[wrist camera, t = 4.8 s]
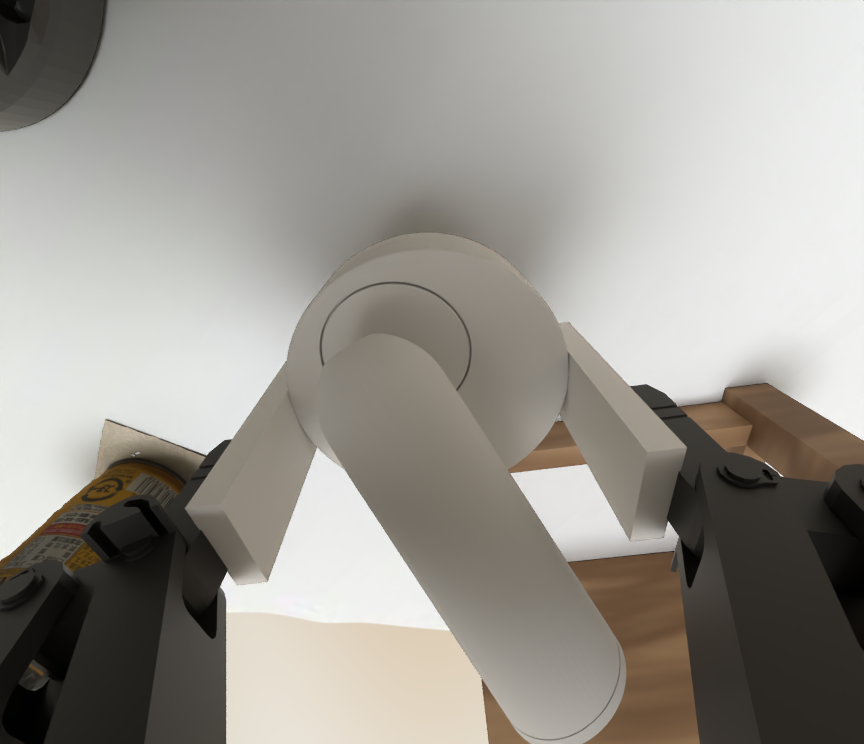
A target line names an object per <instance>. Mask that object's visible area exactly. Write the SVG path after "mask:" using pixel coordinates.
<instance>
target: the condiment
mask: <svg viewBox="0 0 864 744" xmlns="http://www.w3.org/2000/svg"><path fill="white" fill-rule="evenodd" d="M136 452H140V454H138V455H136V454H135V453H136ZM131 454H134V455H135V456H133V457H132V456H130V455H131ZM205 458H206V457H204V456H201V455H199V454H196V453H194V452H191V451H188V450H186V449H184V448H182V447H179V446H177V445H174V444H171V443H168V442H165V441H163V440H160V439H159V438H157V437H154V436H149V435H146V434H143V433H140V432H137V431H135V430H133V429H131V428H128V427H123V426H120V425H118V424H115V423H112V422H109V421H107V420H105V423H104V427H103V431H102V438H101V441H100V449H99V452H98V459H97V468H96V473H95V477H94V480H93V481H92V482H91V483H90V484H89V485H87V486H86V487H84V488H83V489H82V490H81V491H80V492H79V493H78V494H76V495H75V496H74V497H73V498H71V499H70V501H68V502H67V503H65V504H64V505H63V507H62V508H61V509H59V510H58V511H56V512H55V513H54V514H53V515H52V516H51V517H50V518H49V519H48V520H47V521H46V522H45V523H44V524H43V525H42V526H41V527H40V528H38V529H37V530H36V531H35V532H34V533H33V534H32V535H31V536H30V537H29V538H28V539H27V540H26V541H24V542H23V543H22V544H21V545H20V546H19V547H18V548H17V549H16V550H15V551H14V552H12V553H11V554H10V555H9V556H7V557H5V558H3V559H2V560H1V561H0V585H2V584H3V583H4V582H5V581H7V580H8V579H9V578H10V577H12V576H13V575H15V574H16V573H18V572H21V571H22V570H24V569H26V568H28V567H30V566H32V565H35V564H37V563H40V562H43V561H47V560H55V559H56V560H58V561H60V562H63V563H64V564H65V565H66V566H67V567H68V568H69V569H70V570H71V571H72V572H73V571H76V570H78V569H81V568H84V567H87V566H89V565H92V564H95V563H97V562H100V561H102V559H101V558H100V557H99V556H98V555H97V554H96V553H95V552H94V551H93V550H92V549H91V548H90V547H89V546H88V544H87V543H86V542H85V541H84V540H83V539H82V538H81V537H80V534H81V533H82V531H83V530H84V528H85V527H86V525H87V524H89V523H90V522H91V521H92V520H93V519H94V518H95V517H96V516H97V515H98V514H100V513H101V512H103V511H104V510H106V509H107V508H109V507H110V506H112V505H113V504H116V503H118V502H120V501H122V500H124V499H126V498H129V497H133V496H136V495H144V494H150V495H152V496H153V497H155V498H156V499H157V500H158V502H159V503H160V504H161V506H162V507H163V509H164V510H165V511H167V509H168V508H169V506H170V505H171V504H172V502H173V501H174V500H175V498H176V497H177V496H178V494H179V493H180V492H181V490H182V489H183V487H184V486H185V485H186V483H187V482H188V481H190V480H191V479H190V478H191V477H192V475H193V474H194V473H195V471H196V470H197V469H199V466H200V464H201V463H202V462H203V460H204V459H205ZM42 675H43V673H42V672H41V671H39V670H38V669H36V668H35V667H34V666H32V665H31V664H30V665H29V667H28V668H27V670H26V671H25V673H24V675H23V676H22V678H21V679H20V681H19V682H18V684H20V685H21V686H23V687H24V688H26V689H27V690H32V689H33V688H34V686H35V685H36V684H37V683H38V682H39V680H40V678H41V677H42Z"/></svg>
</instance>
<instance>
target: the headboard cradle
mask: <svg viewBox="0 0 864 744" xmlns="http://www.w3.org/2000/svg"><path fill="white" fill-rule="evenodd" d="M680 408H681V409H682V410H683V411H684V412H685V413H686V414H687V417H690V418H691V419H692V420H693V421H695V422H696V423H697V424H698V425H699V426H700V427H701V428H702V429H703V430H704V431H705V432H706V433H707V434H708V435H709V436H711V437H712V438H713V439H714V440H715V441H716V442H717V443H718V444H719V445H720V446H721V447H722V448H723V449H724V450H725V451H727V452H733V453H737V454H742V455H746V456H750V457H752V458H754V459H756V460H759V461H761V462H763V463H765V461H766V462H767V463H768V464H769V465H771V466H772V467H773V468H774V469H775V470H777V471H778V472H779V473H780V474H781V475H783V476H784V477H786V478H795V479H804V480H813V481H822V482H830V480H831V478H832V476H833V474H834V473H835V471H836V470H837V469H839V468H840V467H842V466H843V465H852V464H864V441H863V440H861V439H860V438H858V437H856V436H855V435H853V434H851V433H850V432H848V431H846V430H845V429H843V428H841V427H840V426H838V425H836V424H834V423H833V422H831V421H829V420H828V419H826V418H824V417H823V416H821V415H819V414H818V413H816V412H814V411H813V410H811V409H809V408H808V407H806V406H804V405H803V404H801V403H799V402H798V401H796V400H794V399H793V398H791V397H789V396H788V395H786V394H784V393H783V392H781V391H779V390H777V389H776V388H774V387H772V386H771V385H769V384H767V383H764V384H756V385H748V386H740V387H732V388H725V392H724V396H723V399H722V402H716V403H708V404H700V405H692V406H684V407H680ZM583 464H587V463H586V461H585V459H584V457H583V456H582V454H581V452H580V450H579V448H578V447H577V445H576V443H575V441H574V439H573V438H572V436H571V434H570V432H569V430H568V429H567V427H566V425H565V423H564V421H562V422H555V423H554V424H553V426H552V428H551V429H550V431H549V432H548V434H547V435H546V436H545V438H544V439H543V440H542V441H541V442H540V443H539V445H538V446H537V447H536V448H535V449H534V450H533V451H532V452H531V453H530V454H528V455H527V456H526V457H525V458H524V459H523V460H521V461H520V462H518V463H517V464H516V465H514V466H513V467H511V468H510V469H508V471H509V472H510V473H515V472H524V471H532V470H541V469H549V468H558V467H566V466H575V465H583ZM674 552H675V551H674ZM674 552H664V553H654V554H645V555H635V556H626V557H616V558H607V559H597V560H588V561H578V562H568V564H569V565H570V567H571V569H572V570H573V572H574V573H575V575H576V576H577V578H578V579H579V581H580V582H581V584H582V586H583V587H584V589H585V590H586V592H587V593H588V595H589V596H590V598H591V600H592V601H593V603H594V604H595V606H596V607H597V609H598V610H599V612H600V613H601V615H602V617H603V618H604V620H605V621H606V623H607V624H608V626H609V627H610V629H611V631H612V632H613V634H614V635H615V637H616V638H617V640H618V642H619V643H620V645H621V648H622V650H623V653H624V657H625V662H626V683H625V689H624V693H623V697H622V699H621V702H620V704H619V706H618V708H617V710H616V712H615V714H614V715H613V717H612V718H611V720H610V721H609V722H608V724H607V725H606V726H605V727H604V728H603V729H602V730H601V731H600V732H599V733H598V734H597V735H595V736H594V737H593V738H591V739H590V740H588V741H587V742H585V743H583V744H700V742H699V734H698V725H697V717H696V709H695V701H694V692H693V684H692V676H691V668H690V659H689V651H688V643H687V635H686V626H685V618H684V610H683V602H682V593H681V585H680V577H679V569H678V567H677V571H676V572H672V571H670V569H671V563H672V559H673V556H674ZM482 686H483V696H484V705H485V713H486V723H487V730H488V740H489V744H531V743H529V742H528V741H526V740H525V739H524V738H523V737H522V736H521V735H520V734H519V733H518V732H517V731H516V730H515V728H514V727H513V725H512V724H511V722H510V721H509V719H508V718H507V716H506V714H505V713H504V711H503V710H502V708H501V707H500V705H499V704H498V702H497V701H496V699H495V698H494V696H493V695H492V693H491V692H490V690H489V689H488V687H487V686H486V684H485V683H484V681H483V679H482Z"/></svg>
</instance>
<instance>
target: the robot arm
mask: <svg viewBox="0 0 864 744" xmlns="http://www.w3.org/2000/svg"><path fill="white" fill-rule="evenodd" d="M103 8H104V0H0V132H1V131H9V130H14V129H18V128H22V127H25V126H28V125H31V124H34V123H36V122H38V121H40V120H42V119H44V118H46V117H47V116H49V115H50V114H52V113H54V112H55V111H56V110H57V109H59V108H60V107H61V106H62V105H63V104H64V103H65V102H66V101H67V100H68V99H69V98H70V97H71V96H72V95H73V93H74V92H75V91H76V89H77V88H78V87H79V85H80V83H81V82H82V80H83V79H84V77H85V75H86V73H87V71H88V69H89V67H90V65H91V62H92V59H93V56H94V54H95V51H96V47H97V44H98V40H99V36H100V30H101V25H102V18H103ZM559 326H560V329H561V331H562V333H563V336H564V340H565V343H566V347H567V353H568V361H569V378H568V386H567V392H566V396H565V399H564V402H563V405H562V408H561V411H560V413H559V414H560V416H561V418H562V420H563V421H564V423H565V425H566V427H567V429H568V430H569V432H570V434H571V436H572V438H573V439H574V441H575V443H576V445H577V447H578V448H579V450H580V452H581V454H582V456H583V457H584V459H585V461H586V463H587V465H588V466H589V468H590V470H591V472H592V474H593V475H594V477H595V479H596V481H597V483H598V484H599V486H600V488H601V490H602V492H603V493H604V495H605V497H606V499H607V501H608V502H609V504H610V506H611V508H612V510H613V511H614V513H615V515H616V517H617V519H618V520H619V522H620V524H621V526H622V528H623V529H624V531H625V533H626V535H627V537H628V538H629V540H630V541H639V540H649V539H658V538H664V534H665V531H666V527H667V523H668V521H669V522H670V524H671V525H672V527H673V528H674V530H675V531H676V532H677V534H678V535H679V539H678V542H677V545H676V549H675V552H674V556H673V559H672V563H671V569H670V571H672V572H676V571H677V567H678V569H679V577H680V585H681V593H682V602H683V610H684V618H685V626H686V635H687V643H688V651H689V659H690V668H691V676H692V684H693V692H694V701H695V709H696V717H697V725H698V734H699V742H700V744H864V464H852V465H843V466H842V467H840V468H839V469H837V470H836V471H835V473H834V474H833V476H832V478H831V480H830V482H822V481H813V480H804V479H795V478H786V477H781V476H780V475H779V474H778V472H776V471H775V470H774V469H772V468H771V467H769V466H768V465H766V464H765V463H763V462H761V461H759V460H756V459H754V458H752V457H750V456H746V455H742V454H737V453H733V452H727V451H725V450H724V449H723V448H722V447H721V446H720V445H719V444H718V443H717V442H716V441H715V440H714V439H713V438H712V437H711V436H709V435H708V434H707V433H706V432H705V431H704V430H703V429H702V428H701V427H700V426H699V425H698V424H697V423H696V422H695V421H693V420H692V419H691V418H690V417H687V414H686V413H685V412H684V411H683V410H682V409H681V408H680V407H677V405H676V404H675V403H674V402H673V401H672V400H671V399H670V398H669V397H668V396H667V395H666V394H665V393H663V392H661V391H659V390H657V389H655V388H653V387H651V386H649V385H647V384H645V385H638V386H629V385H628V384H627V383H626V382H625V381H624V380H623V379H622V378H621V377H620V376H619V375H618V374H617V373H616V371H615V370H614V369H613V368H612V367H611V366H610V365H609V364H608V363H607V362H606V361H605V360H604V359H603V358H602V357H601V356H600V354H599V353H598V352H597V351H596V350H595V349H594V348H593V347H592V346H591V345H590V344H589V343H588V342H587V341H586V340H585V339H584V338H583V336H582V335H581V334H580V333H579V332H578V331H577V330H576V329H575V328H574V327H573V326H572V325H571V324H570V323H569V322H566V323H559ZM286 367H287V361H286V362H285V364H284V365H283V366H282V368H281V369H280V371H279V372H278V374H277V375H276V377H275V378H274V380H273V381H272V382H271V384H270V385H269V387H268V388H267V390H266V391H265V393H264V394H263V396H262V397H261V399H260V400H259V401H258V403H257V404H256V406H255V407H254V409H253V410H252V412H251V413H250V415H249V416H248V417H247V419H246V420H245V422H244V423H243V425H242V426H241V428H240V429H239V431H238V432H237V433H236V435H235V436H234V438H233V439H231V440H224V441H223V442H222V443H220V444H219V445H218V446H217V447H216V448H214V449H213V450H212V451H211V452H210V453H209V454H208V455H207V456H206V458H205V459H204V460H203V462H202V463H201V464H200V466H199V469H197V470H196V471H195V473H194V474H193V475H192V477H191V478H190V479H191V480H190V481H188V482H187V483H186V485H185V486H184V487H183V489H182V490H181V492H180V493H179V494H178V496H177V497H176V498H175V500H174V501H173V502H172V504H171V505H170V506H169V508H168V509H167V511H165V510H164V509H163V507H162V506H161V504H160V503H159V502H158V500H157V499H156V498H155V497H153V496H152V495H150V494H144V495H136V496H133V497H129V498H126V499H124V500H122V501H120V502H118V503H116V504H113V505H112V506H110V507H109V508H107V509H106V510H104V511H103V512H101V513H100V514H98V515H97V516H96V517H95V518H94V519H93V520H92V521H91V522H90V523H89V524H87V525H86V527H85V528H84V530H83V531H82V533H81V534H80V537H81V538H82V539H83V540H84V541H85V542H86V543H87V544H88V546H89V547H90V548H91V549H92V550H93V551H94V552H95V553H96V554H97V555H98V556H99V557H100V558H101V559H102V561H100V562H97V563H95V564H92V565H89V566H87V567H84V568H81V569H78V570H76V571H73V572H72V571H71V570H70V569H69V568H68V567H67V566H66V565H65V564H64V563H63V562H60V561H58V560H56V559H55V560H47V561H43V562H40V563H37V564H35V565H32V566H30V567H28V568H26V569H24V570H22V571H21V572H18V573H16V574H15V575H13V576H12V577H10V578H9V579H8V580H7V581H5V582H4V583H3V584H2V585H0V744H226V598H225V594H224V592H223V590H222V589H221V588H220V585H221V583H222V581H223V579H224V577H225V575H226V573H227V571H228V573H229V574H230V576H231V577H232V579H233V580H234V582H235V583H236V585H245V584H254V583H263V582H268V579H269V576H270V574H271V571H272V568H273V565H274V563H275V560H276V557H277V555H278V552H279V549H280V546H281V544H282V541H283V538H284V536H285V533H286V530H287V527H288V525H289V522H290V519H291V517H292V514H293V511H294V508H295V506H296V503H297V500H298V497H299V495H300V492H301V489H302V487H303V484H304V481H305V478H306V476H307V473H308V470H309V468H310V465H311V462H312V459H313V457H314V454H315V451H316V449H317V446H316V445H315V444H314V443H313V442H312V441H311V439H310V438H309V437H308V435H307V434H306V432H305V431H304V430H303V428H302V426H301V424H300V423H299V421H298V419H297V417H296V414H295V412H294V409H293V407H292V404H291V401H290V397H289V393H288V387H287V377H286ZM30 664H31V665H32V666H34V667H35V668H36V669H38V670H39V671H41V672H42V673H43V675H42V677H41V678H40V680H39V682H38V683H37V684H36V685H35V686H34V688H33V689H32V690H27V689H26V688H24V687H23V686H21V685H20V684H18V682H19V681H20V679H21V678H22V676H23V675H24V673H25V671H26V670H27V668H28V667H29V665H30Z"/></svg>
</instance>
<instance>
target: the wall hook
mask: <svg viewBox="0 0 864 744" xmlns="http://www.w3.org/2000/svg"><path fill="white" fill-rule="evenodd" d="M286 377H287V387H288V393H289V397H290V401H291V404H292V407H293V409H294V412H295V414H296V417H297V419H298V421H299V423H300V424H301V426H302V428H303V430H304V431H305V432H306V434H307V435H308V437H309V438H310V439H311V441H312V442H313V443H314V444H315V445H316V446H317V447H318V448H319V450H320V451H322V452H323V453H324V454H325V455H326V456H327V457H328V458H329V459H331V460H332V461H333V462H335V463H336V464H337V465H339V466H340V467H342V468H343V469H345V471H346V472H347V474H348V475H349V477H350V479H351V480H352V482H353V483H354V485H355V486H356V488H357V489H358V491H359V492H360V494H361V495H362V497H363V498H364V500H365V501H366V503H367V505H368V506H369V508H370V509H371V511H372V512H373V514H374V515H375V517H376V518H377V520H378V521H379V523H380V524H381V526H382V527H383V529H384V530H385V532H386V533H387V535H388V536H389V538H390V540H391V541H392V543H393V544H394V546H395V547H396V549H397V550H398V552H399V553H400V555H401V556H402V558H403V559H404V561H405V562H406V564H407V565H408V567H409V568H410V570H411V571H412V573H413V574H414V576H415V578H416V579H417V581H418V582H419V584H420V585H421V587H422V588H423V590H424V591H425V593H426V594H427V596H428V597H429V599H430V600H431V602H432V603H433V605H434V606H435V608H436V609H437V611H438V613H439V614H440V616H441V617H442V619H443V620H444V622H445V623H446V625H447V626H448V628H449V629H450V631H451V632H452V634H453V635H454V637H455V638H456V640H457V641H458V643H459V644H460V646H461V648H462V649H463V651H464V652H465V654H466V655H467V656H468V658H469V660H470V661H471V663H472V664H473V666H474V667H475V669H476V670H477V672H478V673H479V675H480V676H481V678H482V679H483V681H484V683H485V684H486V686H487V687H488V689H489V690H490V692H491V693H492V695H493V696H494V698H495V699H496V701H497V702H498V704H499V705H500V707H501V708H502V710H503V711H504V713H505V714H506V716H507V718H508V719H509V721H510V722H511V724H512V725H513V727H514V728H515V730H516V731H517V732H518V733H519V734H520V735H521V736H522V737H523V738H524V739H525V740H526V741H528V742H529V743H531V744H583V743H585V742H587V741H588V740H590V739H591V738H593V737H594V736H595V735H597V734H598V733H599V732H600V731H601V730H602V729H603V728H604V727H605V726H606V725H607V724H608V722H609V721H610V720H611V718H612V717H613V715H614V714H615V712H616V710H617V708H618V706H619V704H620V702H621V699H622V697H623V693H624V689H625V683H626V662H625V657H624V653H623V650H622V648H621V645H620V643H619V642H618V640H617V638H616V637H615V635H614V634H613V632H612V631H611V629H610V627H609V626H608V624H607V623H606V621H605V620H604V618H603V617H602V615H601V613H600V612H599V610H598V609H597V607H596V606H595V604H594V603H593V601H592V600H591V598H590V596H589V595H588V593H587V592H586V590H585V589H584V587H583V586H582V584H581V582H580V581H579V579H578V578H577V576H576V575H575V573H574V572H573V570H572V569H571V567H570V565H569V564H568V562H567V561H566V559H565V558H564V556H563V555H562V553H561V551H560V550H559V548H558V547H557V545H556V544H555V542H554V541H553V539H552V538H551V536H550V534H549V533H548V531H547V530H546V528H545V527H544V525H543V524H542V522H541V520H540V519H539V517H538V516H537V514H536V513H535V511H534V510H533V508H532V507H531V505H530V503H529V502H528V500H527V499H526V497H525V496H524V494H523V493H522V491H521V490H520V488H519V486H518V485H517V483H516V482H515V480H514V479H513V477H512V476H511V474H510V472H509V471H508V469H510V468H511V467H513V466H514V465H516V464H517V463H518V462H520V461H521V460H523V459H524V458H525V457H526V456H527V455H528V454H530V453H531V452H532V451H533V450H534V449H535V448H536V447H537V446H538V445H539V443H540V442H541V441H542V440H543V439H544V438H545V436H546V435H547V434H548V432H549V431H550V429H551V428H552V426H553V424H554V423H555V421H556V419H557V417H558V415H559V413H560V411H561V408H562V405H563V402H564V399H565V396H566V392H567V386H568V378H569V361H568V353H567V347H566V343H565V340H564V336H563V333H562V331H561V329H560V326H559V324H558V322H557V320H556V318H555V316H554V314H553V312H552V311H551V309H550V308H549V306H548V305H547V303H546V302H545V301H544V300H543V298H542V297H541V296H540V295H539V294H538V293H537V291H536V290H535V289H534V288H533V287H532V286H531V285H530V284H529V283H528V281H527V280H526V279H525V278H524V277H523V276H522V275H521V274H520V273H519V271H518V270H517V269H516V268H515V267H514V266H513V265H512V264H510V263H509V262H508V261H507V260H506V259H505V258H503V257H502V256H501V255H499V254H498V253H496V252H495V251H493V250H491V249H490V248H488V247H486V246H484V245H482V244H480V243H477V242H475V241H472V240H470V239H466V238H463V237H460V236H455V235H450V234H443V233H429V232H427V233H412V234H405V235H400V236H395V237H392V238H389V239H385V240H383V241H380V242H377V243H375V244H373V245H371V246H369V247H367V248H365V249H363V250H362V251H360V252H358V253H357V254H355V255H354V256H353V257H351V258H350V259H349V260H347V261H346V262H345V263H344V264H343V265H342V266H341V267H340V268H339V269H338V270H337V271H336V272H335V273H334V274H333V275H332V277H331V278H330V279H329V280H328V282H327V283H326V284H325V285H324V287H323V288H322V289H321V290H320V292H319V293H318V294H317V295H316V297H315V298H314V299H313V301H312V302H311V303H310V304H309V306H308V307H307V309H306V310H305V312H304V313H303V315H302V317H301V318H300V320H299V322H298V324H297V326H296V329H295V331H294V334H293V336H292V340H291V343H290V346H289V351H288V356H287V367H286Z"/></svg>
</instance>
